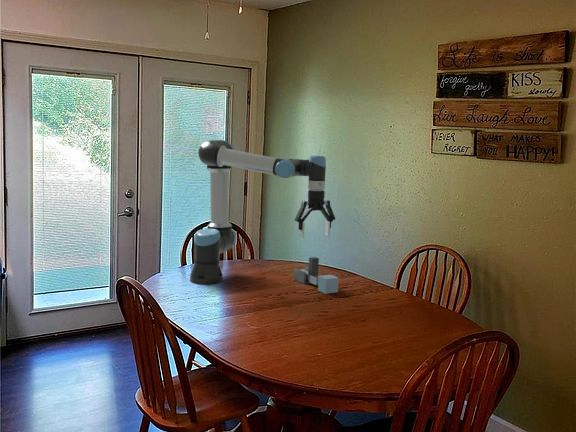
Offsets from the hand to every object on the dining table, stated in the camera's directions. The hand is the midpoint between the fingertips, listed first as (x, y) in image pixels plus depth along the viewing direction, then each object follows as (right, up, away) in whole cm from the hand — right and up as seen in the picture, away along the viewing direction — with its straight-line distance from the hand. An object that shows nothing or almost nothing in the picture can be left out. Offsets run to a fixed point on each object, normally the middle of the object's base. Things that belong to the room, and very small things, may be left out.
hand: (314, 236), depth 270 cm
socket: (+6, -24, -6) cm, 26 cm away
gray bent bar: (-2, -21, +6) cm, 22 cm away
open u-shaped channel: (-4, -22, +10) cm, 24 cm away
